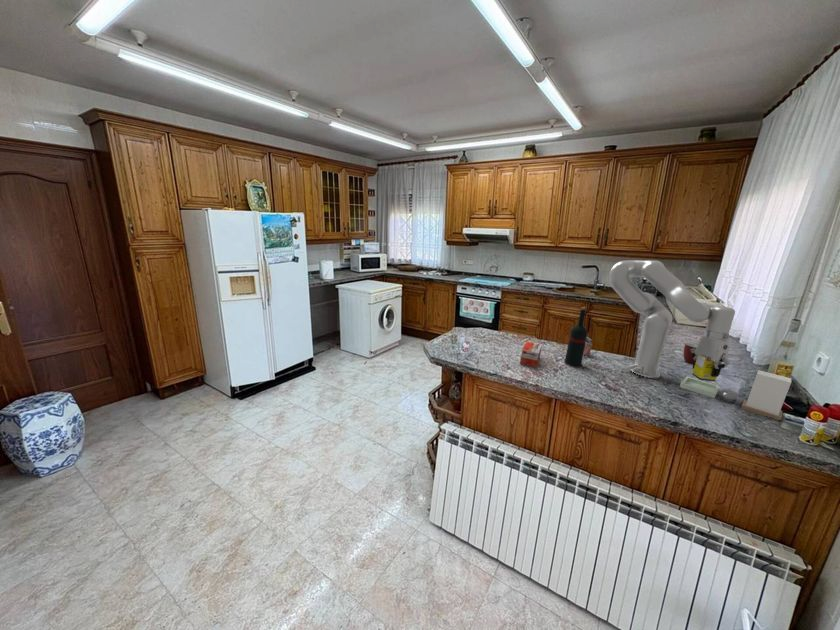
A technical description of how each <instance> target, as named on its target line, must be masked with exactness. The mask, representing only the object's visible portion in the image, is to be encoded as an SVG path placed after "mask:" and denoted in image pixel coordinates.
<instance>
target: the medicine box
mask: <svg viewBox="0 0 840 630" xmlns="http://www.w3.org/2000/svg"><path fill="white" fill-rule="evenodd" d="M542 346H543V344H541V343H536V342H531V341H528V340H527V341H526V342H525V344H524V346H523V347H522V349H521V354H520V361H519V365H525V366H530V367H533V368H537V366H538V363H539V361H540V357H541V352H542Z"/></svg>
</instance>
